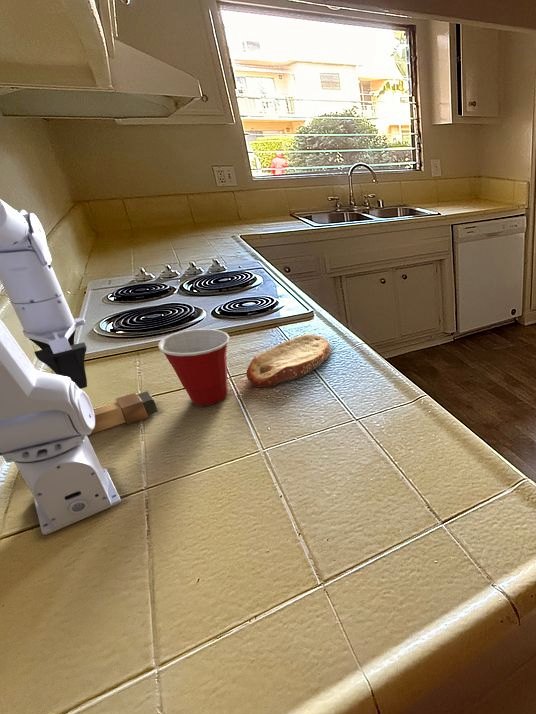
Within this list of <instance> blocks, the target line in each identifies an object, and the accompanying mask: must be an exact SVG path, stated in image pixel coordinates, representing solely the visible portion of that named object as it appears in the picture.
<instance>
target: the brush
mask: <svg viewBox="0 0 536 714" xmlns="http://www.w3.org/2000/svg"><path fill="white" fill-rule="evenodd" d="M93 410H94V415H95V427H94V429H93V430H92V432H91V434H89V435H88V436H90V435H92V434H95V433H98V432H102V431H104V430H107V429H110V428H113V427H116V426H119V425H122V424H125V423H126V424H127V425H130V424H133V423H136V422H138V421H142V420H145V419H148V418H149V416H150V415H152V414H153V415H154V414H156V413H158V412H159V410H158V407H157V405H156V401H155V399H154V398H153V397H152V395H151V394H150V393H149V392H148V391H143V392H140V393H137V392H133V393H130V394H126V395H123V396H119V397H117V398H115V402H113V403H112V402H111V403H109V404H106V405H102V406H100V407H97V408H93Z"/></svg>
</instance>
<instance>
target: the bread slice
mask: <svg viewBox="0 0 536 714" xmlns="http://www.w3.org/2000/svg"><path fill="white" fill-rule="evenodd" d="M331 350H332V349H331V345H330V343H329V341H328V340H327V339H325V337H323V336H321V335H316V334H311V333H310V334H303V335H299V336H296V337H294V338H293V339H292V338H291V339H288V340H287V341H284V342H282V343H279V344H278V345H275V346H274V347H271V348H270V349H267V350H266V351H264V352H262V353H259V354H258V355H257V356H254V357H253V359H252V360H251V361H250V363H249V364H248V366H247V369H246V378H247V380H248V381H249V382H250V384H251V385H252V386H253V387H256V388H268V387H269V388H271V387H275V385H277V384H278V385H279V384H281V383H285V382H290V381H293V380H296V379H297V380H298V379H300V378H302V377H304V376H306V375H307V374H310V373H311V372H313V371H314V370H316V369H318V368H319V367H321V365H322V363H324V362H325V361H326V360H328V358H329V356H330V353H331Z"/></svg>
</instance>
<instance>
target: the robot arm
mask: <svg viewBox="0 0 536 714" xmlns="http://www.w3.org/2000/svg"><path fill="white" fill-rule="evenodd" d="M52 262H53V259H52V254H51V252H50V249H49V246H48V242H47V237H46V233H45V230H44V227H43V225H42V223H41V222H40V220H39V218H38V217H37V215H36V214H35V213H33V212H30V213H28V212H27V210H25V209H14V208H13V206H10V205H9V204H7V203H6V202H5V201H3V200H2V199H1V198H0V282H1V284H2V287H3V289H4V291H5V293H6V296H7V297H8V299H9V301H10V304H11V306H12V308H13V310H14V311H15V312H14V313H15V314H16V316H17V318H18V320H19V323H20V325H21V327H22V329H23V330H22V334H23V335H24V337H25V338H27V339H28V340H29V341H31V342H33V343H34V345H36V346H37V347H38V348H40V349H39V350H36V351H34V352H33V353H34V355H35V357H36V359H38V361H40V362H41V363H43V364H44V365H46V366H47V367H48V368H50V369H51V370H52V371H53V373H49V372H45V371H41V370H37V369H36V368H35V366H34V365H33V363H32V362H31V361H30V359H29V357H28V356H27V355H26V353H25V352H24V350H23V349H22V348H21V346H20V344H18V342H17V340H16V339H15V337H14V336H13V335H12V333H11V332H10V330H9V329H8V327H7V326H6V325H5V323H4V322H3V321H2V319H1V318H0V457H2V458H3V459H4V461H5V462H6V463H7V464H8V463H14V465H15V466H16V468H17V470H18V472H19V473H20V475H21V477H22V478H23V479H22V480H23V481H24V482H25V484H26V486H27V487H28V490H29V491H30V493H31V495H32V497H33V502H34V505H35V510H36V514H37V519H38V523H39V526H40V527H39V528H40V531H41V533H42V535H45V536H46V535H49V534H53V533H54V532H56V531H59V530H61V529H63V528H66V527H68V526H70V525H73V524H75V523H78V522H79V521H81V520H84V519H86V518H89V517H91V516H93V515H95V514H97V513H100V512H103V511H104V510H107V509H110V508H112V507H114V506H116V505H118V504H120V503H121V502H122V499H121V497H120V494H119V493H118V491H117V488H116V486H115V485H114V482H113V480H112V478H111V476H110V474H109V472H108V469H107V468H103V467H102V465H101V462H100V461H99V458H98V456H97V454H96V452H95V450H94V448H93V446H92V442H91V441H90V439H89V437H88V436H90V435H92V434H91V432H92V430H93V429H94V427H95V415H94V410H93V409H94V407H93V405H92V402H91V399H90V397H89V395H88V394H87V393H86V392H85V390H83V389H85V388H87V387H88V379H87V373H86V367H85V366H86V365H85V357H86V354H87V349H88V348H87V347H88V346H87V344H86V342H79V343H75V334H76V331H77V328H78V327H81V326H85V325H86V324H87V322H86V320H85V318H84V317H77V318H74V317H73V314H72V312H71V309H70V307H69V305H68V302H67V300H66V297H65V295H64V292H63V291H62V287H61V284H60V283H59V280H58V278H57V276H56V273H55V271H54V269H53V266H52V264H51V263H52ZM89 434H90V435H89Z"/></svg>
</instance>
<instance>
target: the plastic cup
mask: <svg viewBox="0 0 536 714" xmlns="http://www.w3.org/2000/svg"><path fill="white" fill-rule="evenodd" d="M230 339H231V337H230V335H229V334H228V333H227V332H225V331H223V330H220V329H213V328H194V329H188V330H183V331H182V330H181V331H179V332H176V333H172V334H169V335H167V336H165V337H164V338H162V339H161V340H160V341H159V342H158V344H157V346H158V349H159V351H160V352H162V353H163V354H164V356H165V357H166V359H167V361H168V362H169V364H170V365H171V367H172V369H173V370H174V372H175V374H176V376H177V378H178V380H179V381H180V383H181V386H182V387H183V390H185V392H186V393H187V395H188V397H189V399H190V400H191V401H192V402H193V404H194V405H197V406H202V407H203V406H211V405H214V404H217V403H219V402H221V401H223V400H224V399H226V398H227V396H228V391H229V389H228V388H229V387H228V364H227V363H228V361H227V360H228V359H227V352H228V351H227V349H228V343H229V342H230Z"/></svg>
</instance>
